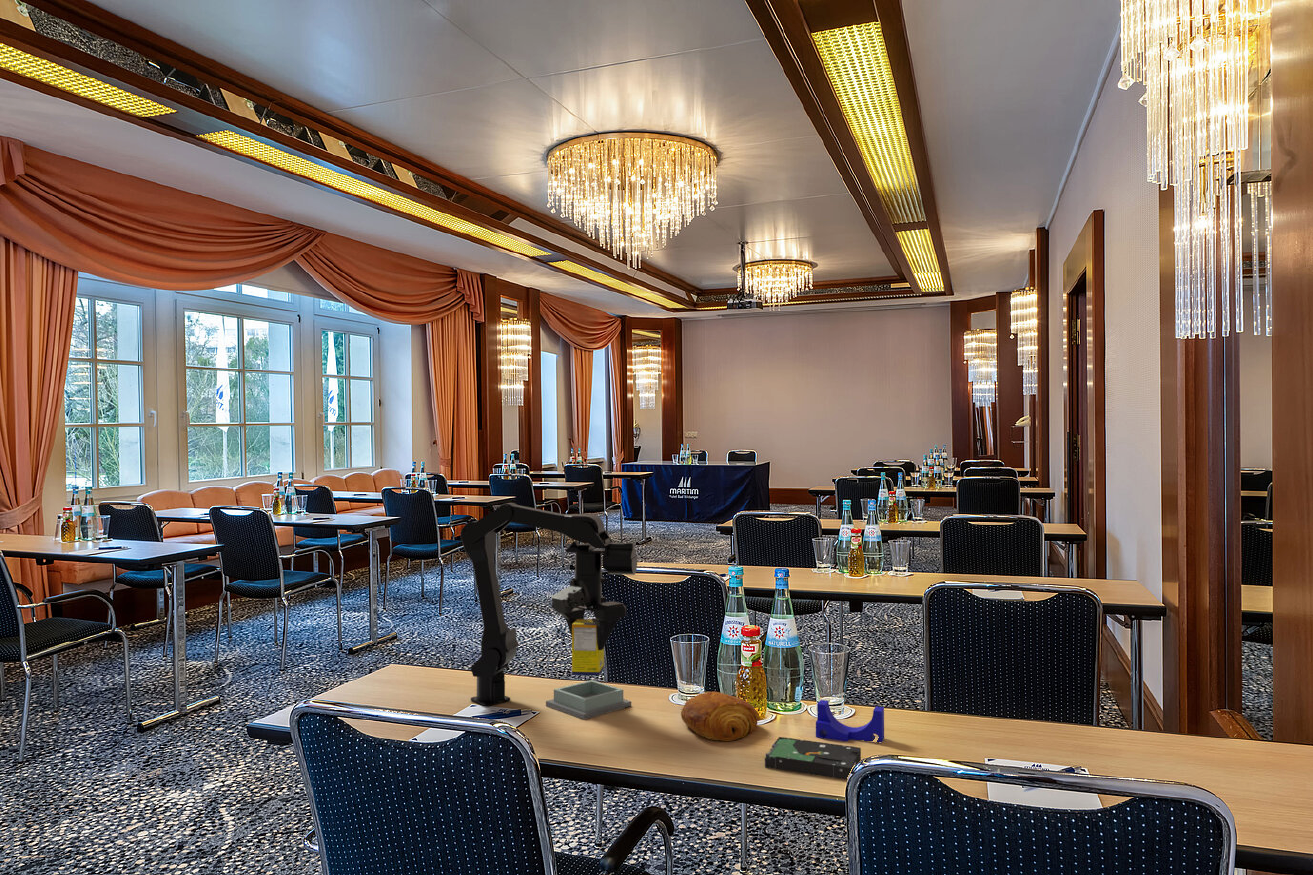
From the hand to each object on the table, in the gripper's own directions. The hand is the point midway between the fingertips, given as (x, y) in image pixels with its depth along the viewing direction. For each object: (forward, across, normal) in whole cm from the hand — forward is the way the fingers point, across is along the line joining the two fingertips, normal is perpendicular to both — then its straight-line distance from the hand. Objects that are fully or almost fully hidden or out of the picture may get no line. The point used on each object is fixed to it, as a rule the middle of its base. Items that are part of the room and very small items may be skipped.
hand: (588, 646), depth 174 cm
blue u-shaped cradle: (+13, +50, +23) cm, 57 cm away
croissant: (+13, +30, +9) cm, 34 cm away
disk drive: (+13, +53, +7) cm, 55 cm away
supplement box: (+6, 0, 0) cm, 6 cm away
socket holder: (+13, 0, 0) cm, 13 cm away
